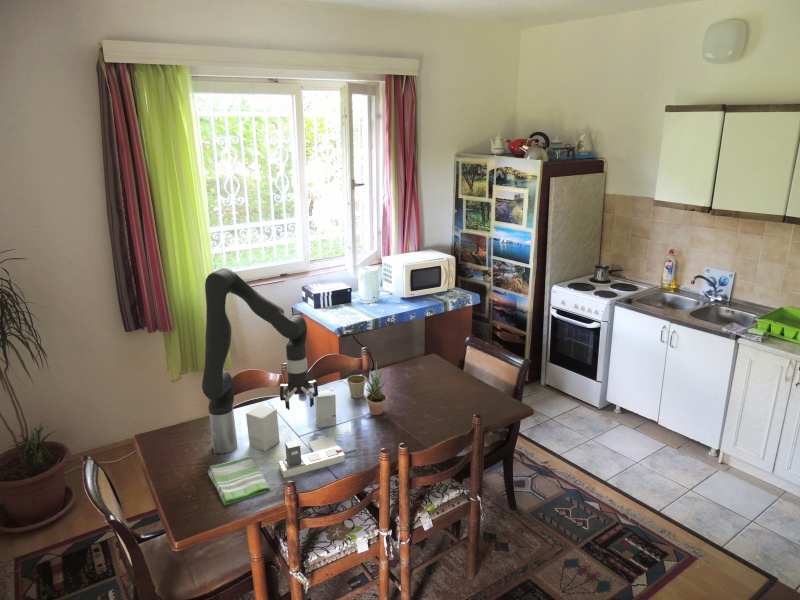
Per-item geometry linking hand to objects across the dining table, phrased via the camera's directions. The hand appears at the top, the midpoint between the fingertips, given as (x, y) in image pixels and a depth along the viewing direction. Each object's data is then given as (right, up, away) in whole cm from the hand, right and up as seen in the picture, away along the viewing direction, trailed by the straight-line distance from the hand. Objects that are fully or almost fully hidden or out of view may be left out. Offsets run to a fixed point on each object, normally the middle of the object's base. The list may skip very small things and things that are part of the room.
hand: (300, 407), depth 215 cm
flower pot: (+17, -5, +57) cm, 60 cm away
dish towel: (-21, -26, -7) cm, 35 cm away
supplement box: (-18, -18, +17) cm, 30 cm away
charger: (-2, -20, -2) cm, 21 cm away
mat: (+7, -18, +14) cm, 24 cm away
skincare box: (+6, -13, +32) cm, 35 cm away
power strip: (+7, -22, +3) cm, 23 cm away
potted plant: (+28, -10, +42) cm, 51 cm away
